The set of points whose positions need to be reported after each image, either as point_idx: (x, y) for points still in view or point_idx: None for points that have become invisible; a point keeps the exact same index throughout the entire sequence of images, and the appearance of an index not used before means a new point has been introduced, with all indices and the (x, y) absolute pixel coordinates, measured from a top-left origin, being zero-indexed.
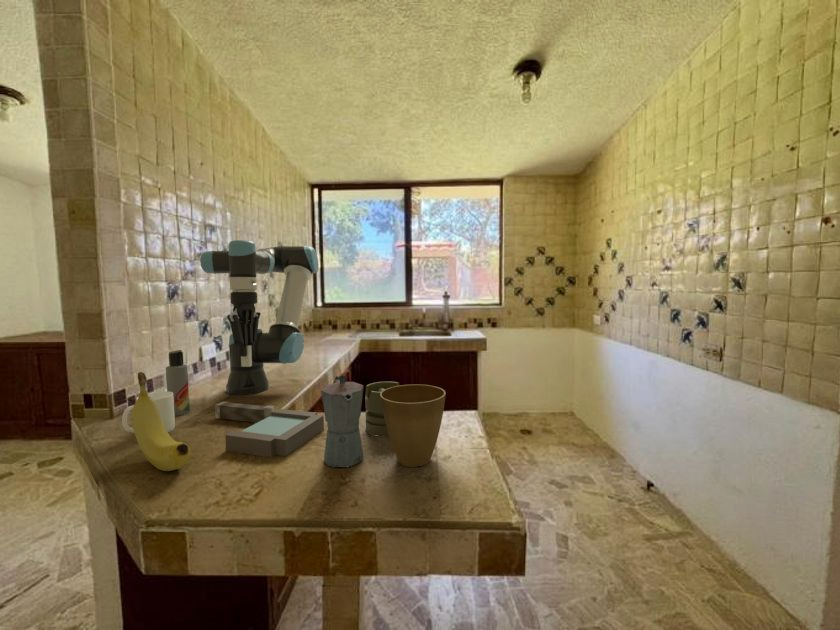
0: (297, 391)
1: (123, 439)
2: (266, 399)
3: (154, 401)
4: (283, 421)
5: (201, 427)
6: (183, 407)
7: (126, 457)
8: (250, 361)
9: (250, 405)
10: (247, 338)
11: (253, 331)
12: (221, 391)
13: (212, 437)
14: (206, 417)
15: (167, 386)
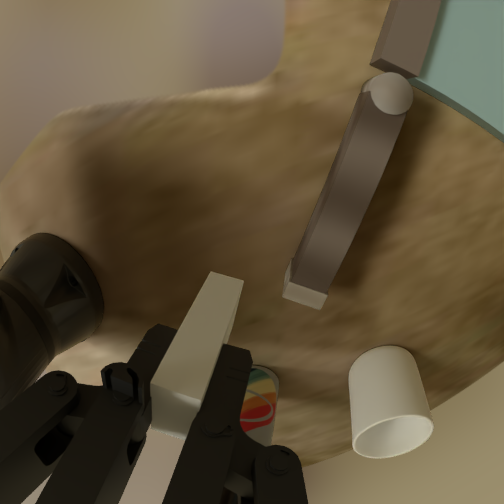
0: (46, 126)
1: None
2: (123, 194)
3: (432, 420)
4: (469, 32)
5: (383, 291)
6: (267, 382)
7: (496, 345)
8: (216, 294)
9: (343, 179)
10: (176, 476)
11: (13, 466)
12: (88, 342)
13: (462, 232)
14: (299, 312)
15: None
